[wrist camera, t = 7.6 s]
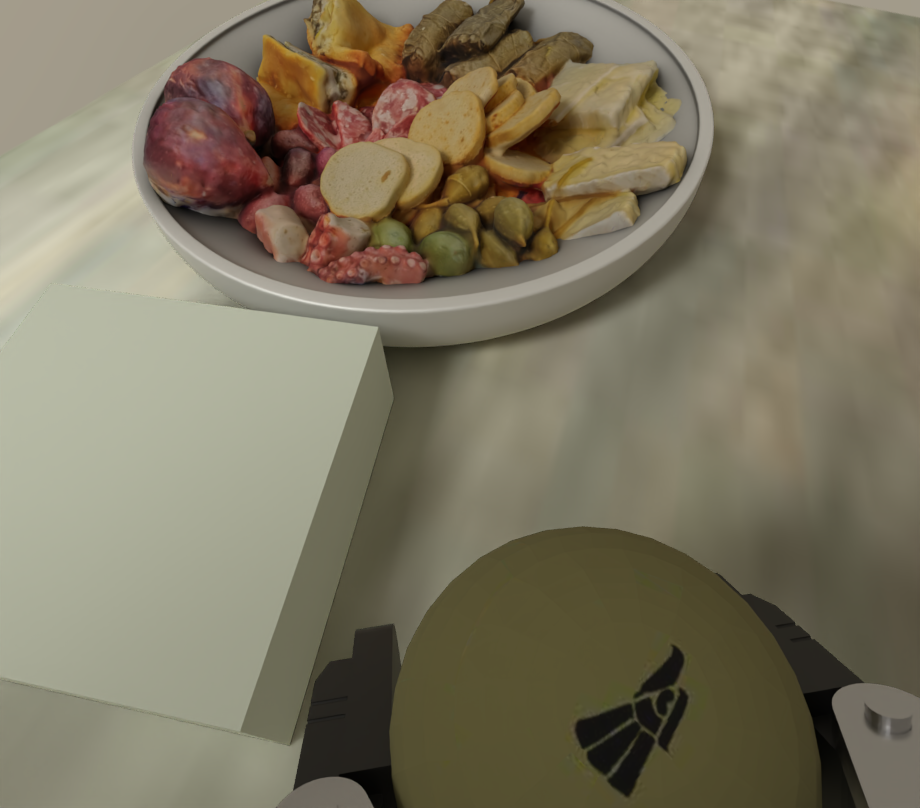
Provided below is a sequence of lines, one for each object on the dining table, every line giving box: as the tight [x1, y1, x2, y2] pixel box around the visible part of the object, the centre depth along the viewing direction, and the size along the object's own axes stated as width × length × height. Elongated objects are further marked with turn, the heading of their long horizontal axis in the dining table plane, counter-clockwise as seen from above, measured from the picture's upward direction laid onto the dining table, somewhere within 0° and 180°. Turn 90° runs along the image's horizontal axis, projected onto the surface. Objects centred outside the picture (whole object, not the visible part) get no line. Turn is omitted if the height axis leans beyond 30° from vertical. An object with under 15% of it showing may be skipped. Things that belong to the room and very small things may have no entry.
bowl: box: [132, 0, 714, 347], centre depth 34 cm, size 30×30×8 cm
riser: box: [0, 283, 394, 746], centre depth 23 cm, size 14×14×5 cm
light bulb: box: [389, 526, 822, 808], centre depth 10 cm, size 6×6×10 cm
